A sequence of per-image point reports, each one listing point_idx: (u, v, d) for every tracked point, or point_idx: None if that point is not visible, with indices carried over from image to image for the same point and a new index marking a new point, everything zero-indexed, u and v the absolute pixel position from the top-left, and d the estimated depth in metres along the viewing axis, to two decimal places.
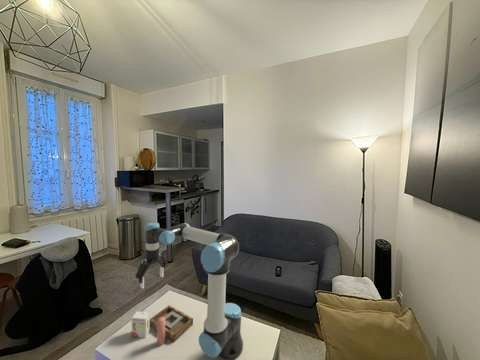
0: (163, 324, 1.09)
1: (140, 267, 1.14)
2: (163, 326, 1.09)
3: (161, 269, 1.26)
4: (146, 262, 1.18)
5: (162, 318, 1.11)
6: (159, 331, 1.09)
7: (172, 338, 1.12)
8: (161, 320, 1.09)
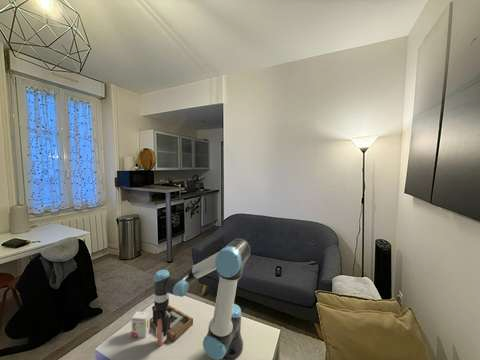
0: None
1: None
2: None
3: None
4: None
5: None
6: (159, 331, 1.09)
7: (172, 338, 1.12)
8: (161, 320, 1.09)
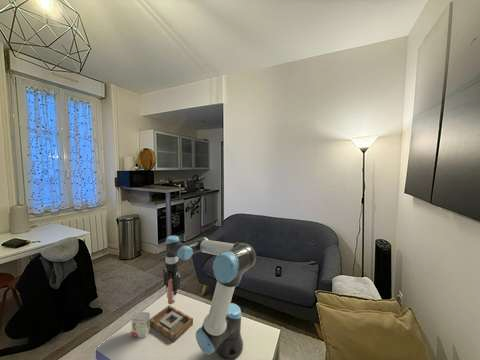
0: None
1: None
2: None
3: None
4: None
5: None
6: (170, 290, 1.20)
7: (172, 338, 1.12)
8: (171, 281, 1.21)
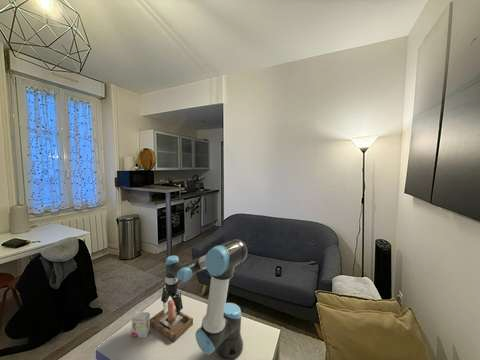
0: (173, 306, 1.22)
1: None
2: (173, 308, 1.22)
3: None
4: None
5: (172, 301, 1.23)
6: (169, 312, 1.21)
7: (172, 338, 1.12)
8: (171, 302, 1.22)
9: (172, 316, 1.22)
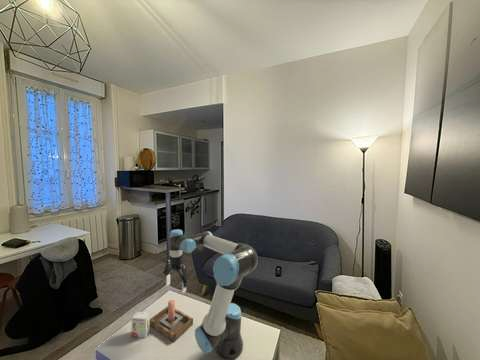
0: (173, 306, 1.22)
1: None
2: (173, 308, 1.22)
3: None
4: None
5: (172, 301, 1.23)
6: (170, 313, 1.21)
7: (172, 338, 1.12)
8: (171, 303, 1.22)
9: (172, 316, 1.22)
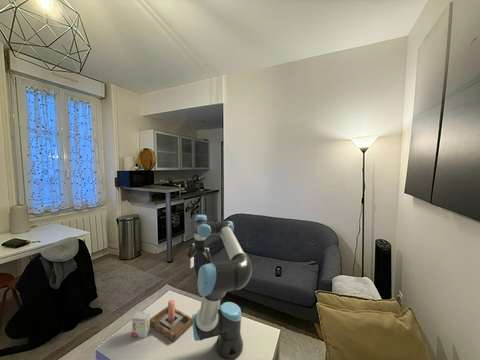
0: (173, 306, 1.22)
1: None
2: (173, 308, 1.22)
3: None
4: None
5: (172, 301, 1.23)
6: (170, 313, 1.21)
7: (172, 338, 1.12)
8: (171, 303, 1.22)
9: (172, 316, 1.22)
